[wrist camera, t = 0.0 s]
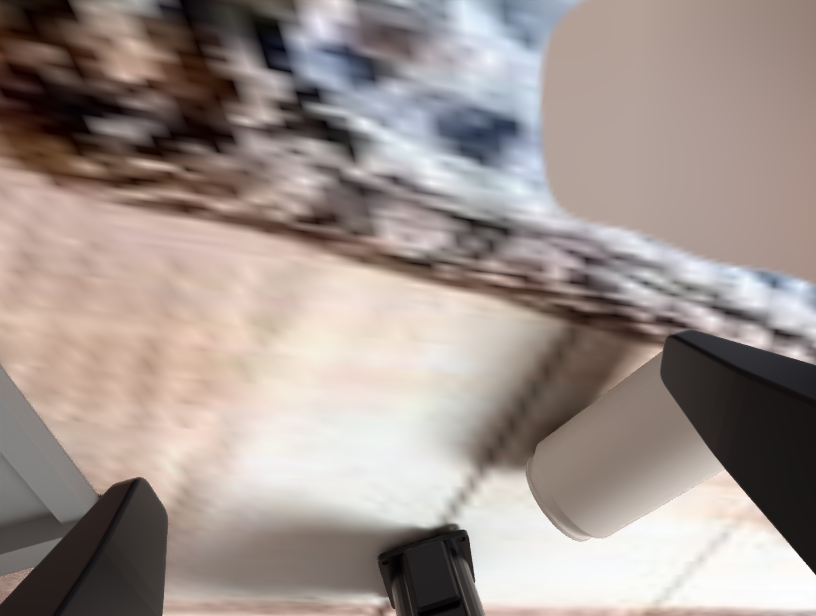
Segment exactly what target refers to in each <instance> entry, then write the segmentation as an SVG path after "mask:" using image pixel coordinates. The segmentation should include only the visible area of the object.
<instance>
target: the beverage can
mask: <svg viewBox="0 0 816 616" xmlns="http://www.w3.org/2000/svg"><path fill="white" fill-rule="evenodd" d="M662 352H663V351H662ZM662 352H660V353H659V354H658V355H656V356H655V357H654V358H652V359H651V360H650V361H648V362H647V363H646V364H644V365H643V366H642V367H640V368H639V369H637V370H636V371H635V372H633V373H632V374H631V375H629V376H628V377H627V378H625V379H624V380H623V381H621V382H620V383H619V384H617V385H616V386H615V387H613V388H612V389H611V390H609V391H608V392H607V393H605V394H604V395H602V396H601V397H600V398H598V399H597V400H596V401H594V402H593V403H592V404H590V405H589V406H588V407H586V408H585V409H584V410H582V411H581V412H580V413H578V414H577V415H576V416H574V417H573V418H572V419H570V420H569V421H567V422H566V423H565V424H563V425H562V426H561V427H559V428H558V429H557V430H555V431H554V432H553V433H551V434H550V435H549V436H547V437H546V438H545V439H543V440H542V441H541V442H539V443H538V445H537V447H536V450H535V453H534V455H532V456H531V457H530V458H528V460H527V462H526V468H525V469H526V477H527V481H528V484H529V487H530V490H531V492H532V494H533V496H534V498H535V500H536V502H537V504H538V505H539V507H540V508H541V510H542V511H543V513H544V514H545V515H546V517H547V518H548V519H549V520H550V521H551V522H552V524H553V525H554V526H555V527H556V528H557V529H559V530H560V531H561V532H562V533H563V534H565V535H566V536H568V537H569V538H571V539H573V540H576V541H586V540H588V539H590V538H591V537H594V538H606V537H608V536H610V535H612V534H614V533H615V532H617V531H619V530H620V529H622V528H624V527H626V526H627V525H629V524H631V523H633V522H634V521H636V520H638V519H640V518H641V517H643V516H645V515H647V514H648V513H650V512H652V511H654V510H655V509H657V508H659V507H661V506H662V505H664V504H666V503H667V502H669V501H671V500H673V499H674V498H676V497H678V496H680V495H681V494H683V493H685V492H687V491H688V490H690V489H692V488H694V487H695V486H697V485H699V484H701V483H702V482H704V481H706V480H708V479H709V478H711V477H713V476H714V475H716V474H718V473H720V472H721V471H723V470H725V468H724V467H723V466H722V465H721V463H720V462H719V461H718V460H717V458H716V457H715V456H714V455H713V453H712V452H711V451H710V449H709V448H708V447H707V445H706V444H705V443H704V441H703V440H702V438H701V437H700V436H699V434H698V433H697V431H696V430H695V428H694V427H693V426H692V424H691V423H690V421H689V420H688V418H687V417H686V416H685V414H684V413H683V411H682V410H681V408H680V407H679V405H678V404H677V403H676V401H675V400H674V398H673V397H672V395H671V394H670V393H669V391H668V390H667V388H666V387H665V385H664V384H663V382H662V380H661V376H660V366H661V359H662Z"/></svg>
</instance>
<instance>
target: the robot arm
mask: <svg viewBox="0 0 816 616" xmlns="http://www.w3.org/2000/svg"><path fill="white" fill-rule="evenodd" d="M660 376H661V380H662V382H663V384H664V385H665V387H666V388H667V390H668V391H669V393H670V394H671V395H672V397H673V398H674V400H675V401H676V403H677V404H678V405H679V407H680V408H681V410H682V411H683V413H684V414H685V416H686V417H687V418H688V420H689V421H690V423H691V424H692V426H693V427H694V428H695V430H696V431H697V433H698V434H699V436H700V437H701V438H702V440H703V441H704V443H705V444H706V445H707V447H708V448H709V449H710V451H711V452H712V453H713V455H714V456H715V457H716V458H717V460H718V461H719V462H720V463H721V465H722V466H723V467H724V468H725V469H726V471H727V472H728V473H729V474H730V475H731V476H732V478H733V479H734V480H735V481H736V482H737V483H738V485H739V486H740V487H741V488H742V489H743V490H744V492H745V493H746V494H747V495H748V496H749V497H750V499H751V500H752V501H753V502H754V503H755V504H756V506H757V507H758V508H759V509H760V510H761V512H762V513H763V514H764V515H765V516H766V517H767V519H768V520H769V521H770V522H771V523H772V524H773V526H774V527H775V528H776V529H777V530H778V531H779V533H780V534H781V535H782V536H783V537H784V538H785V540H786V541H787V542H788V543H789V544H790V545H791V547H792V548H793V549H794V550H795V551H796V552H797V554H798V555H799V556H800V557H801V558H802V559H803V561H804V562H805V563H806V564H807V565H808V566H809V568H810V569H811V570H812V571H813V572H814V573H815V575H816V365H814V364H810V363H807V362H803V361H800V360H796V359H793V358H789V357H786V356H782V355H779V354H775V353H772V352H768V351H765V350H762V349H758V348H755V347H751V346H748V345H744V344H741V343H737V342H734V341H730V340H727V339H723V338H720V337H716V336H713V335H709V334H706V333H702V332H699V331H696V330H684V331H680V332H676V333H672V334H670V335H668V336H667V337H666V339H665V341H664V346H663V352H662V359H661V366H660ZM167 534H168V516H167V512H166V509H165V507H164V506H163V504H162V503H161V501H160V500H159V498H158V497H157V495H156V493H155V492H154V490H153V489H152V487H151V486H150V484H149V483H148V481H147V480H146V479H144V478H142V477H136V478H133V479H129V480H125V481H122V482H118V483H116V484H114V485H112V486H111V487H110V488H109V489H108V490H107V491H106V492H105V493H104V494H103V496H102V497H101V498H100V499H99V500H98V501H97V502H96V503H95V504H94V505H93V506H92V507H91V508H90V509H89V510H88V512H87V513H86V514H85V515H84V516H83V517H82V518H81V519H80V520H79V521H78V522H77V523H76V524H75V525H74V526H73V528H72V529H71V530H70V531H69V532H68V533H67V534H66V535H65V536H64V537H63V538H62V539H61V540H60V541H59V543H58V544H57V545H56V546H55V547H54V548H53V549H52V550H51V551H50V552H49V553H48V554H47V555H46V556H45V557H44V559H43V560H42V561H41V562H40V563H39V564H38V565H37V566H36V567H35V568H34V569H33V570H32V571H31V572H30V574H29V575H28V576H27V577H26V578H25V579H24V580H23V581H22V582H21V583H20V584H19V585H18V586H17V587H16V588H15V590H14V591H13V592H12V593H11V594H10V595H9V596H8V597H7V598H6V599H5V600H4V601H3V602H2V603H1V604H0V616H162V613H163V600H164V584H165V567H166V551H167ZM378 565H379V568H380V571H381V574H382V577H383V581H384V584H385V587H386V590H387V593H388V596H389V599H390V602H391V606H392V608H393V609H396V615H397V616H485V613H484V610H483V607H482V604H481V601H480V598H479V595H478V593H477V590H476V587H475V584H474V583H475V577H474V570H473V563H472V556H471V549H470V542H469V536H468V534H467V531H466V530H458V531H455V532H452V533H448V534H445V535H442V536H438V537H435V538H432V539H428V540H425V541H422V542H418V543H415V544H412V545H408V546H405V547H402V548H399V549H395V550H392V551H389V552H385V553H382V554H380V555H379V556H378Z"/></svg>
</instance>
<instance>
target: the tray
mask: <svg viewBox="0 0 816 616" xmlns="http://www.w3.org/2000/svg"><path fill="white" fill-rule="evenodd" d="M99 499H100V498H99V496H98V495H97V494H96V492H95V491H94V490H93V488H92V487H91V486H90V484H89V483H88V482H87V480H86V479H85V478H84V476H83V475H82V474H81V472H80V471H79V469H78V468H77V467H76V465H75V464H74V463H73V461H72V460H71V459H70V457H69V456H68V455H67V453H66V452H65V451H64V449H63V448H62V447H61V445H60V444H59V443H58V441H57V440H56V439H55V437H54V436H53V435H52V433H51V432H50V431H49V429H48V428H47V427H46V425H45V424H44V423H43V421H42V420H41V419H40V417H39V416H38V415H37V413H36V412H35V411H34V409H33V408H32V407H31V405H30V404H29V403H28V401H27V400H26V399H25V397H24V396H23V395H22V393H21V392H20V390H19V389H18V388H17V386H16V385H15V384H14V382H13V381H12V380H11V378H10V377H9V376H8V374H7V373H6V372H5V370H4V369H3V368H2V366H1V365H0V576H3V575H7V574H10V573H14V572H18V571H21V570H25V569H28V568H32V567H35V566H37V565H38V564H39V563H40V562H41V561H42V560H43V559H44V557H45V556H46V555H47V554H48V553H49V552H50V551H51V550H52V549H53V548H54V547H55V546H56V545H57V544H58V543H59V541H60V540H61V539H62V538H63V537H64V536H65V535H66V534H67V533H68V532H69V531H70V530H71V529H72V528H73V526H74V525H75V524H76V523H77V522H78V521H79V520H80V519H81V518H82V517H83V516H84V515H85V514H86V513H87V512H88V510H89V509H90V508H91V507H92V506H93V505H94V504H95V503H96V502H97V501H98V500H99Z"/></svg>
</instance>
